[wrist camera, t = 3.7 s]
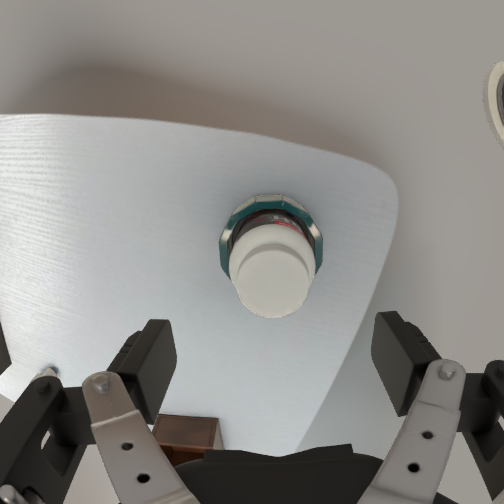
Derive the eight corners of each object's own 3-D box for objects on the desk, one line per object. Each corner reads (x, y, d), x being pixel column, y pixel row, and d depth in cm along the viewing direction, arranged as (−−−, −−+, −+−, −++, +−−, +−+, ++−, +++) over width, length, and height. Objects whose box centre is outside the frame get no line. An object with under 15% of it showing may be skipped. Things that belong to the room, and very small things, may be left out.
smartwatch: (52, 361, 32) (36, 379, 28) (63, 374, 32) (48, 393, 28) (40, 369, 32) (25, 387, 29) (51, 382, 33) (36, 399, 29)
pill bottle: (302, 204, 25) (323, 234, 16) (304, 268, 27) (323, 327, 17) (234, 209, 26) (216, 241, 16) (240, 272, 27) (228, 333, 18)
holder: (218, 418, 32) (213, 447, 28) (224, 453, 35) (221, 480, 30) (158, 413, 33) (148, 440, 29) (171, 449, 35) (163, 474, 31)
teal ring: (315, 193, 25) (322, 198, 22) (315, 280, 27) (321, 297, 24) (222, 196, 25) (215, 203, 22) (228, 283, 27) (223, 300, 24)
